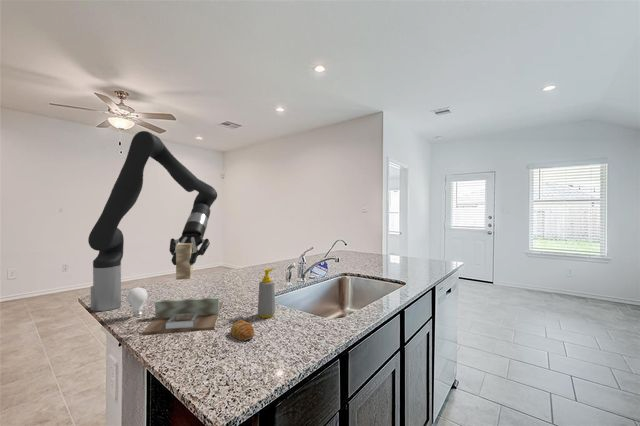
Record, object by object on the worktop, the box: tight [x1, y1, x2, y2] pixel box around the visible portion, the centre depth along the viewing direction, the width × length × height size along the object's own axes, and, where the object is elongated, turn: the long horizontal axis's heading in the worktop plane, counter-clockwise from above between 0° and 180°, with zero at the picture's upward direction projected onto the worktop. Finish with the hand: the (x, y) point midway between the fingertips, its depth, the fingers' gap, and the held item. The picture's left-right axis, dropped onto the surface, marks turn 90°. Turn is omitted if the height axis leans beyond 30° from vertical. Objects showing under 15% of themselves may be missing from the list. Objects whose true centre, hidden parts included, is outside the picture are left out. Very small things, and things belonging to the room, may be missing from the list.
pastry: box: [230, 319, 255, 341], centre depth 94 cm, size 9×7×4 cm
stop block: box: [175, 242, 194, 280], centre depth 101 cm, size 4×4×12 cm
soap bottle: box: [257, 267, 276, 319], centre depth 111 cm, size 7×7×18 cm
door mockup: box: [141, 296, 224, 336], centre depth 108 cm, size 22×26×7 cm
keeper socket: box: [166, 313, 198, 330], centre depth 100 cm, size 8×8×2 cm
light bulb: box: [126, 287, 149, 316], centre depth 109 cm, size 7×7×11 cm
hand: (182, 263), depth 99 cm, fingers closed on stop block, 5 cm apart
